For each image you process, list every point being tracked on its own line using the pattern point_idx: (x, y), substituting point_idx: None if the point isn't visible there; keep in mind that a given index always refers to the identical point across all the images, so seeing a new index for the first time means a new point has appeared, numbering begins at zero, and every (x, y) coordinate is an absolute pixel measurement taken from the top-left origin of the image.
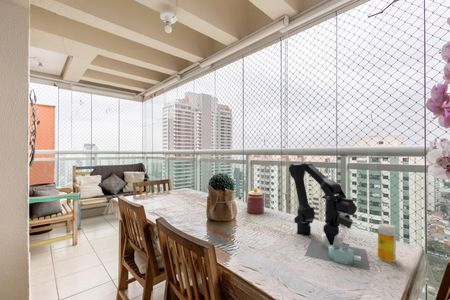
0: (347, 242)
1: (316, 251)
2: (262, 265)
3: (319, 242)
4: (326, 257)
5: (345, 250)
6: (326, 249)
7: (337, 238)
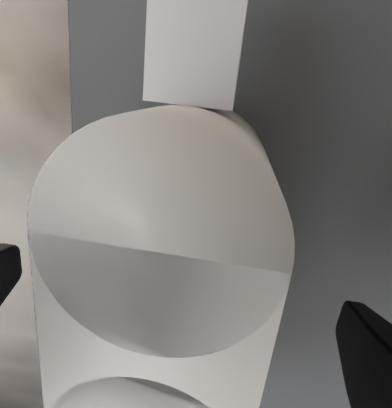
0: (166, 1)
1: None
2: None
3: None
4: None
5: None
6: (321, 322)
7: (280, 281)
